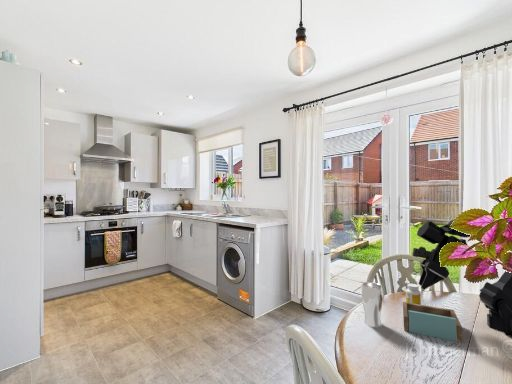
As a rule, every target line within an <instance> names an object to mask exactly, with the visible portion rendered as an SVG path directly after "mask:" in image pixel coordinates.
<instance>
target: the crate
mask: <svg viewBox="0 0 512 384" xmlns="http://www.w3.org/2000/svg"><path fill="white" fill-rule="evenodd" d="M409 310H411V311H416V312H422V313H428V314H434V315H440V316H446V317H452V318H455V319H456V338H457V341H456V342H458V343H463V342H464V341H463V327H462V324H461V322H460V320H459V318H458V316H457V314H456V311H455V309H449V308H443V307H437V306H432V305H431V306H430V305H426V304H425V305H424V304H421V305H419V304H413V303H406V301H403V302H402V316H403V331H404V332H409Z"/></svg>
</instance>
